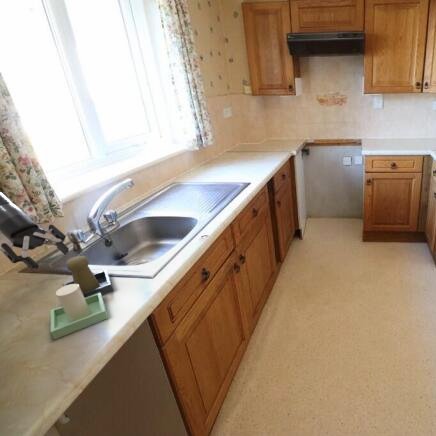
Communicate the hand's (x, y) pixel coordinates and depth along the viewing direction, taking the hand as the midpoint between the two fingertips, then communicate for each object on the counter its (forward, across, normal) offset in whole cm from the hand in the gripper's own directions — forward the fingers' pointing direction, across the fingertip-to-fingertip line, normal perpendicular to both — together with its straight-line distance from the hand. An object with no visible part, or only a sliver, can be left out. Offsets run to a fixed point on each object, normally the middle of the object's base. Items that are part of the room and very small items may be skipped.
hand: (52, 260), depth 98 cm
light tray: (+21, -9, -8) cm, 24 cm away
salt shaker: (+21, -9, -8) cm, 24 cm away
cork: (+14, 0, -1) cm, 14 cm away
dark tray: (+14, 0, -1) cm, 14 cm away
